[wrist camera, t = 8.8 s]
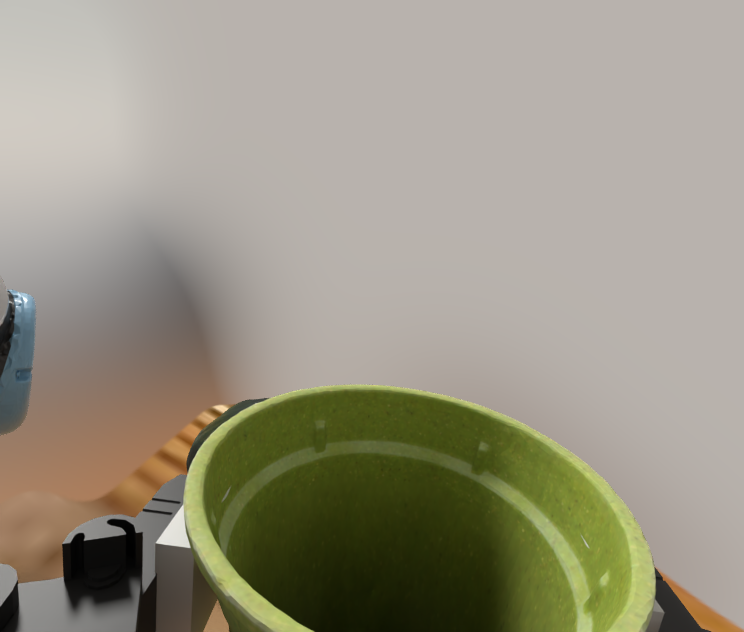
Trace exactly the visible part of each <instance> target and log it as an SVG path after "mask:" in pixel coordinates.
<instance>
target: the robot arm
mask: <svg viewBox="0 0 744 632" xmlns="http://www.w3.org/2000/svg"><path fill="white" fill-rule="evenodd" d="M35 324H36V305H35V301H34V298H33V297H32V296H30V295H29V294H26V293H20V292H17V291H15V290H7V289H6V286H5V284H4V281H3V280H2V278H1V277H0V435H4V434H7V433H10V432H12V431H14V430H16V429H17V428H18V427H20V426H21V424H22V423H23V422H24V420H25V418H26V416H27V411H28V406H29V400H30V391H31V378H32V374H31V370H32V366H33V358H34V345H35ZM255 404H257V403H255ZM186 478H187V475H181V474H180V475H179V476H177V477H175V478H174V479H172V480H170V481H169V482H167V483H165V484H164V485H163V486H162V487H161V488H160V489H159V490H158V492H157V493H156V494H155V495H154V496H153V498H152V500H150V501H149V502H148V504H147V505H146V506H145V507H144V508H143V511H142V512H140V513H139V514H138V515H137V517H136V518H133V517H130V516H126V515H107V516H103V517H99V518H94V519H92V520H90V521H88V522H86V523H84V524H81V525H80V526H78V527H77V528H76V529H75V530H73V531H72V532H71V533H69V534H68V536H67V538H66V539H65V541H64V542H63V544H62V546H63V573H64V577H62V578H57V579H51V580H43V581H35V582H27V583H19V584H18V579H17V572H16V570H15V569H13V568H12V567H11V566H9V565H6V564H0V632H203V630H204V628H205V626H206V623H207V621H208V619H209V617H210V615H211V612H212V610H213V608H214V606H215V603H216V601H217V599H218V598H217V595H216V594H215V593H214V591H213V590H212V589H211V587H210V586H209V584H208V582H207V581H206V579H205V578H204V576H203V575H202V573H201V571H200V569H199V567H198V565H197V563H196V561H195V559H194V556H193V554H192V551H191V547H190V544H189V541H188V537H187V534H186V529H185V520H184V506H183V498H184V489H185V483H186ZM230 488H231V487H230ZM230 488H229V489H228V491H227V493H226V494H225V496H224V498H223V500H222V502H223V501H224V500H225V498H226V497H227V495H228V493H229V490H230ZM581 536H582V535H581ZM582 538H583V537H582ZM583 540H584V538H583ZM584 542H585V540H584ZM585 544H586V546H587V547H588V545H587V543H586V542H585ZM588 548H589V547H588ZM654 569H655V577H656V595H655V603H654V608H653V613H652V617H651V620H650V622H649V625H648V627H647V629H646V632H711V631H708V630H705V629H702V628H701V627H700V626H699V625H698V624H697V622H696V621H695V620H694V618H693V617H692V616H691V614H690V613H689V612H688V610H687V609H686V608H685V606H684V605H683V604H682V602H681V601H680V600H679V598H678V597H677V596H676V594H675V593H674V592H673V591H672V589H671V588H670V587H669V585H668V584H667V583H666V581H663V577H662V576H661V575H660V573H659V572H658V571H657V569H656V568H655V567H654Z"/></svg>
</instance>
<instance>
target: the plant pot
mask: <svg viewBox="0 0 744 632" xmlns="http://www.w3.org/2000/svg"><path fill="white" fill-rule="evenodd" d="M230 487H231V488H230ZM229 488H230V490H229V493H228V495H227V497H226V498H225V500H224V501H223V502H222V500H223V498H224V496H225V494H226V493H227V491H228V489H229ZM183 506H184V520H185V529H186V534H187V537H188V541H189V544H190V547H191V551H192V554H193V556H194V559H195V561H196V563H197V565H198V567H199V569H200V571H201V573H202V575H203V576H204V578H205V579H206V581H207V582H208V584H209V586H210V587H211V589H212V590H213V591H214V593H215V594H216V595H217V598H218V600H219V603H220V606H221V608H222V611H223V614H224V616H225V618H226V620H227V622H228V624H229V632H646V629H647V627H648V625H649V622H650V620H651V617H652V613H653V608H654V603H655V595H656V577H655V569H654V561H653V558H652V554H651V551H650V549H649V545H648V543H647V542H646V539H645V537H644V535H643V532H642V530H641V528H640V526H639V524H638V523H637V521H636V520H635V518H634V516H633V514H632V513H631V511H630V510H629V508H628V507H627V506H626V505H625V503H624V502H623V500H622V499H621V498H620V497H619V496H618V495H617V494H616V493H615V492H614V490H613V489H612V487H611V486H610V485H609V484H608V483H607V482H606V481H605V480H604V478H603V477H601V476H599V475H598V474H597V473H596V472H595V471H594V470H593V469H592V468H591V467H590V466H589V465H587V464H586V463H585V462H583V461H582V460H581V459H580V458H578V457H577V456H575V455H574V454H573V453H571V452H570V451H569V450H567V449H565V448H564V447H562V446H561V445H559V444H558V443H556V442H555V441H553V440H551V439H550V438H548V437H546V436H545V435H543V434H541V433H539V432H537V431H536V430H534V429H532V428H530V427H529V426H527V425H525V424H523V423H521V422H519V421H517V420H515V419H512V418H510V417H508V416H505V415H503V414H501V413H499V412H496V411H493V410H490V409H488V408H486V407H483V406H480V405H477V404H474V403H471V402H468V401H464V400H461V399H457V398H453V397H449V396H445V395H441V394H436V393H431V392H427V391H420V390H414V389H408V388H402V387H393V386H382V385H335V386H323V387H315V388H310V389H302V390H296V391H292V392H289V393H286V394H282V395H278V396H276V397H273V398H269V399H267V400H265V401H263V402H259V403H257V404H254V405H252V406H250V407H248V408H246V409H245V410H242V411H240V412H239V413H238V414H237V415H235V416H233V417H232V418H231V419H229V420H228V421H226V422H225V423H223V424H222V425H221V426H219V427H218V428H217V429H216V430H215V431H214V432H213V433H212V434H211V435H210V436H209V437H208V438H207V439H206V441H205V442H204V443H203V444H202V446H201V447H200V449H199V450H198V452H197V453H196V455H195V457H194V459H193V461H192V463H191V465H190V468H189V471H188V474H187V478H186V483H185V489H184V498H183ZM581 535H582V536H581ZM582 537H583V538H584V540H585V542H586V543H587V545H588V547H589V548H588V547H587V546H586V544H585V542H584V540H583V538H582Z"/></svg>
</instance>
